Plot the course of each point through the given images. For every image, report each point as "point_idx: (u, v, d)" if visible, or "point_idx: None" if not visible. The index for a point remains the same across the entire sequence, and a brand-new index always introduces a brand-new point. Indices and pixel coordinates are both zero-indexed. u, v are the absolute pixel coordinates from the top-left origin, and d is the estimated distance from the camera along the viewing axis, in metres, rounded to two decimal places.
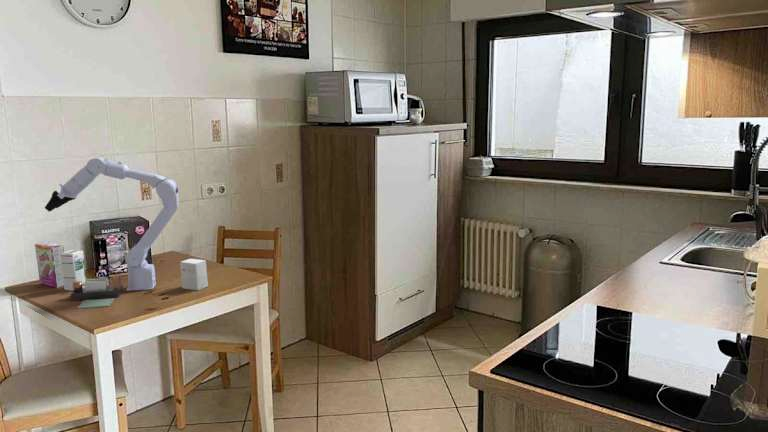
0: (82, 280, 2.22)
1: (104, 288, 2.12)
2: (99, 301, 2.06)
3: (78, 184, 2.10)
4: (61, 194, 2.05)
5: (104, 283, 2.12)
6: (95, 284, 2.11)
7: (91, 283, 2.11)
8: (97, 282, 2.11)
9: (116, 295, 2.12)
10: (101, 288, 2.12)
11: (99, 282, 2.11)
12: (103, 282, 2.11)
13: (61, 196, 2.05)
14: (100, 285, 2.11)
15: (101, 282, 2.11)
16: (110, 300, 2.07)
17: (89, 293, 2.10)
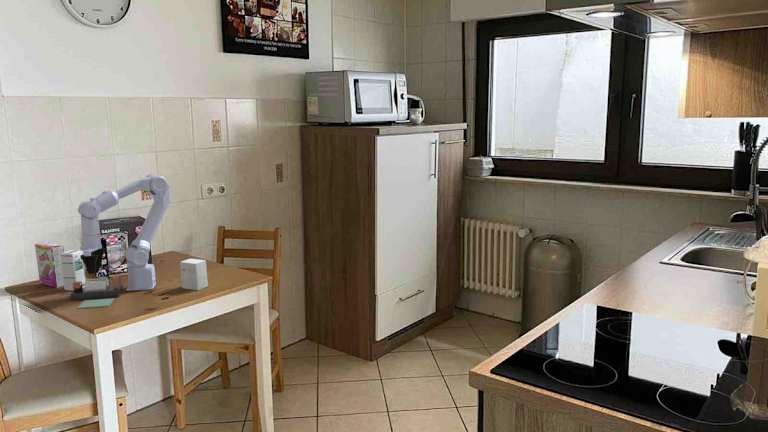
0: (82, 280, 2.22)
1: (104, 288, 2.12)
2: (99, 301, 2.06)
3: (95, 234, 2.08)
4: (86, 252, 2.04)
5: (104, 283, 2.12)
6: (95, 284, 2.11)
7: (91, 283, 2.11)
8: (97, 282, 2.11)
9: (116, 295, 2.12)
10: (101, 288, 2.12)
11: (99, 282, 2.11)
12: (103, 282, 2.11)
13: (87, 254, 2.04)
14: (100, 285, 2.11)
15: (101, 282, 2.11)
16: (110, 300, 2.07)
17: (89, 293, 2.10)
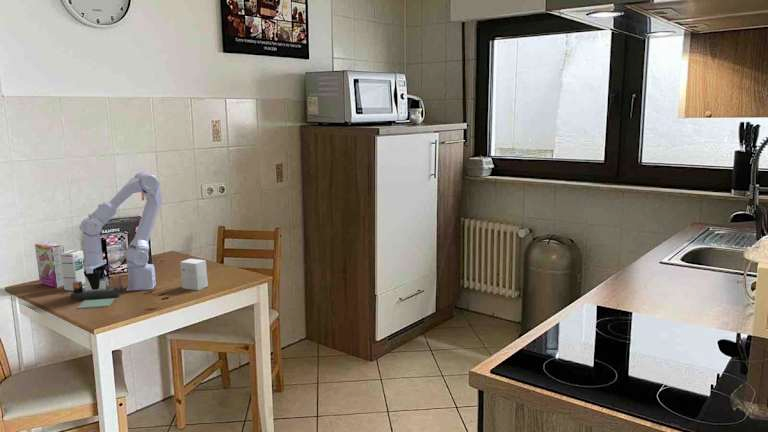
0: (82, 280, 2.22)
1: (104, 288, 2.12)
2: (99, 301, 2.06)
3: (97, 251, 2.09)
4: (88, 270, 2.05)
5: (104, 283, 2.12)
6: None
7: None
8: None
9: (116, 295, 2.12)
10: (101, 288, 2.12)
11: (99, 282, 2.11)
12: (103, 282, 2.11)
13: (90, 271, 2.05)
14: (100, 285, 2.11)
15: (101, 282, 2.11)
16: (110, 300, 2.07)
17: (89, 293, 2.10)
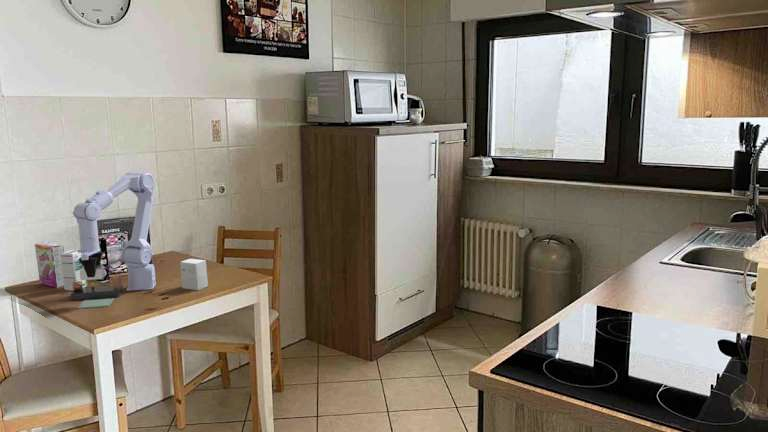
0: (82, 280, 2.22)
1: (100, 277, 2.02)
2: (99, 301, 2.06)
3: (96, 236, 2.01)
4: (83, 256, 1.95)
5: (100, 271, 2.02)
6: None
7: None
8: None
9: (116, 295, 2.12)
10: (97, 277, 2.02)
11: (95, 270, 2.01)
12: (99, 270, 2.02)
13: (85, 257, 1.95)
14: (96, 273, 2.02)
15: (97, 270, 2.02)
16: (110, 300, 2.07)
17: (89, 293, 2.10)
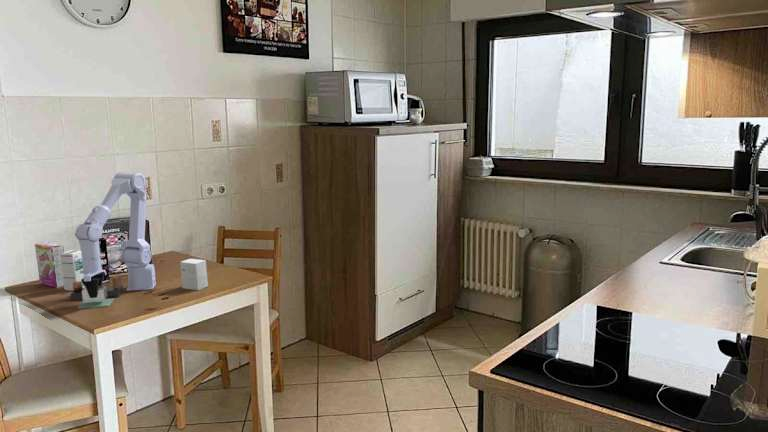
0: None
1: (102, 297, 2.03)
2: (99, 301, 2.06)
3: (98, 257, 2.01)
4: (86, 277, 1.95)
5: (102, 292, 2.02)
6: None
7: None
8: None
9: (116, 295, 2.12)
10: (99, 297, 2.02)
11: (97, 291, 2.02)
12: (101, 291, 2.02)
13: (87, 279, 1.96)
14: (98, 294, 2.02)
15: (99, 291, 2.02)
16: (110, 300, 2.07)
17: None
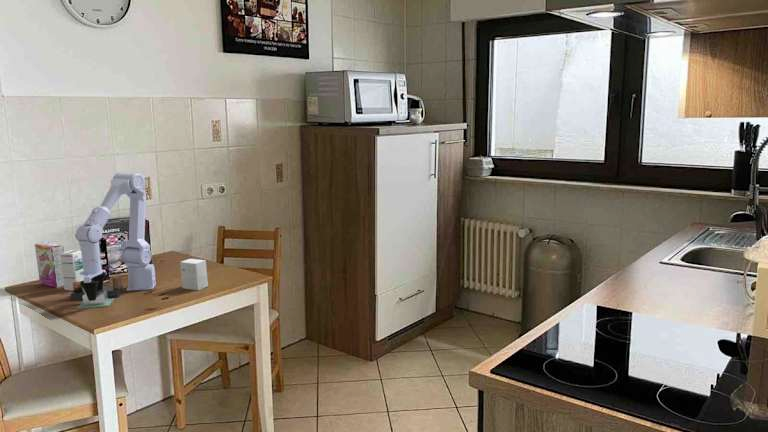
0: (82, 280, 2.22)
1: (103, 302, 2.03)
2: None
3: (98, 258, 2.01)
4: (86, 279, 1.96)
5: (103, 297, 2.03)
6: None
7: None
8: (96, 296, 2.02)
9: (116, 295, 2.12)
10: (100, 302, 2.03)
11: (98, 296, 2.02)
12: (102, 296, 2.03)
13: (88, 280, 1.96)
14: (98, 298, 2.02)
15: (100, 296, 2.02)
16: (110, 300, 2.07)
17: None
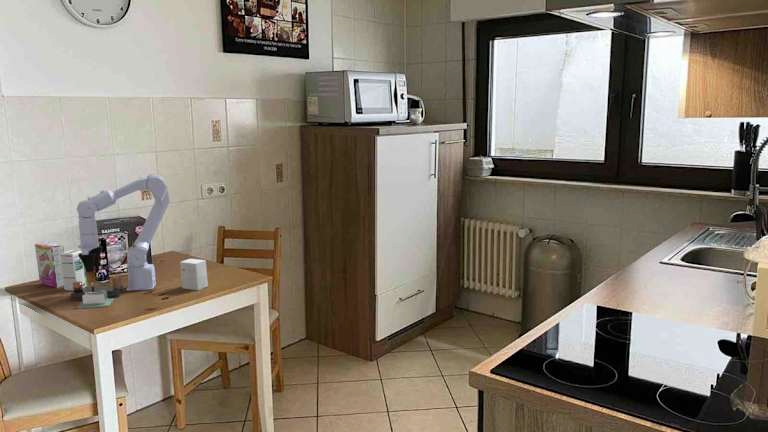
0: (82, 280, 2.22)
1: (103, 302, 2.03)
2: None
3: (90, 233, 2.10)
4: (84, 251, 2.06)
5: (103, 297, 2.03)
6: (93, 298, 2.02)
7: (89, 297, 2.02)
8: (96, 296, 2.02)
9: (116, 295, 2.12)
10: (100, 302, 2.03)
11: (98, 296, 2.02)
12: (102, 296, 2.03)
13: (85, 252, 2.06)
14: (98, 298, 2.02)
15: (100, 296, 2.02)
16: (110, 300, 2.07)
17: None
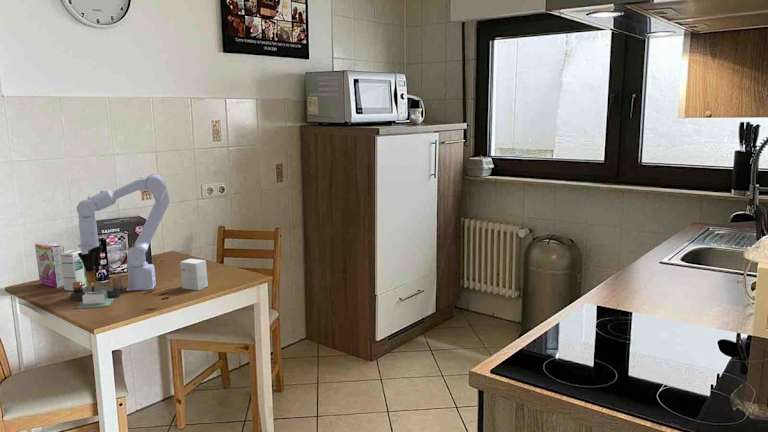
0: (82, 280, 2.22)
1: (103, 302, 2.03)
2: None
3: (90, 233, 2.11)
4: (83, 250, 2.07)
5: (103, 297, 2.03)
6: (93, 298, 2.02)
7: (89, 297, 2.02)
8: (96, 296, 2.02)
9: (116, 295, 2.12)
10: (100, 302, 2.03)
11: (98, 296, 2.02)
12: (102, 296, 2.03)
13: (85, 251, 2.07)
14: (98, 298, 2.02)
15: (100, 296, 2.02)
16: (110, 300, 2.07)
17: None
